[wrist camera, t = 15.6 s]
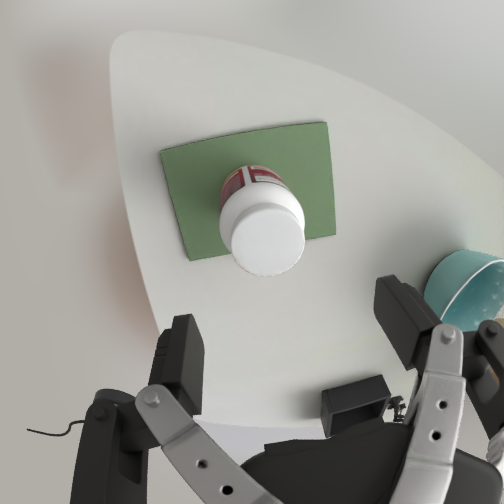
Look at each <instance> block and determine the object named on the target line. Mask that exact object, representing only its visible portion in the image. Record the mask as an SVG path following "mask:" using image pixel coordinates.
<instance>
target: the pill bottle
mask: <svg viewBox="0 0 504 504" xmlns="http://www.w3.org/2000/svg"><path fill="white" fill-rule="evenodd" d="M304 227H305V220H304V213H303V210H302V208H301V205H300V204H299V202H298V201H297V199H296V198H295V196H294V195H293V194H292V192H291V191H290V190H289V188H288V187H287V186H286V185H285V183H284V182H283V181H282V179H281V178H280V177H279V176H278V175H277V174H276V173H275V172H274V171H272V170H271V169H269V168H267V167H265V166H261V165H246V166H243V167H240V168H238V169H237V170H235V171H234V172H232V173H231V174H230V175H229V176H228V178H227V179H226V180H225V182H224V184H223V187H222V190H221V200H220V220H219V228H220V234H221V238H222V240H223V242H224V244H225V246H226V248H227V249H228V250H229V251H230V252H231V253H232V255H233V257H234V259H235V261H236V262H237V264H238V265H239V266H240V267H241V268H242V269H244V270H245V271H247V272H249V273H251V274H254V275H257V276H274V275H278V274H281V273H283V272H285V271H287V270H288V269H290V268H291V267H292V266H293V265H295V263H296V262H297V261H298V260H299V258H300V257H301V255H302V252H303V249H304V245H305V236H304Z"/></svg>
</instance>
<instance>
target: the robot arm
mask: <svg viewBox="0 0 504 504" xmlns="http://www.w3.org/2000/svg"><path fill="white" fill-rule="evenodd" d="M374 313H375V317H376V319H377V320H378V322H379V324H380V325H381V327H382V329H383V330H384V332H385V334H386V335H387V337H388V339H389V341H390V342H391V344H392V346H393V347H394V349H395V351H396V353H397V354H398V356H399V358H400V360H401V362H402V363H403V365H404V367H405V369H406V371H408V370H411V369H413V368H416V369H417V371H418V372H417V375H416V379H415V383H414V387H413V391H412V395H411V398H410V402H409V406H408V409H407V412H406V415H405V417H404V419H403V422H402V423H395V422H386V423H384V420H383V418H382V416H380V417H377V418H374V419H371V420H368V421H365V422H362V423H359V424H355V425H353V426H352V427H350V428H348V429H346V430H344V431H342V432H340V433H339V434H337V435H335V436H333V437H331V438H329V439H324V440H297V439H296V440H295V439H294V440H289V441H283V442H277V443H270V444H264V449H265V451H264V452H262V453H259V454H257V455H255V456H253V457H251V458H250V459H248V460H247V461H246V462H244V463H243V464H242V465H241V466H239V465H238V464H237V463H235V462H234V461H233V460H232V459H231V458H230V457H229V456H228V455H227V454H226V453H225V452H224V451H223V450H222V449H221V448H220V447H219V446H218V445H217V444H216V443H215V441H214V440H213V439H212V438H211V437H210V436H209V435H208V434H207V433H206V432H205V431H204V430H203V429H202V428H201V427H200V426H199V425H198V424H197V423H195V421H194V420H193V415H201V410H202V387H203V368H204V344H203V340H202V337H201V334H200V332H199V329H198V327H197V324H196V322H195V319H194V316H193V315H192V314H186V315H179V316H174V319H173V323H172V328H171V329H165V330H164V331H163V333H162V334H161V335H160V337H159V339H158V343H157V347H156V348H157V349H156V351H155V357H154V360H153V364H152V369H151V373H150V378H149V383H148V386H147V387H145V388H143V389H142V390H141V391H140V392H139V393H138V394H137V396H136V399H135V400H133V401H130V402H127V403H124V404H118V403H115V402H111V401H110V400H107V399H101V400H98V401H96V402H94V403H93V404H92V405H91V406H90V407H89V408H88V410H87V413H86V417H85V420H79V421H74V422H71V423H70V424H69V428H68V430H67V431H66V432H65V433H63V434H47V433H44V432H39V431H35V430H31V429H27V430H28V431H32V432H36V433H40V434H45V435H49V436H64V435H66V434H68V433H69V432H70V430H71V426H72V425H73V424H77V423H84V425H83V429H82V434H81V439H80V443H79V448H78V454H77V459H76V464H75V471H74V477H73V483H72V491H71V499H70V504H147V470H148V451H149V449H151V448H154V447H158V446H161V449H162V451H163V453H164V454H165V455H166V457H167V458H168V459H169V461H170V462H171V463H172V465H173V466H174V467H175V469H176V470H177V471H178V472H179V474H180V475H181V476H182V477H183V479H184V480H185V481H186V482H187V483H188V485H189V486H190V487H191V488H192V489H193V491H194V492H195V493H196V494H197V495H198V496H199V497H200V499H201V500H202V501H203V502H204V503H205V504H502V497H503V490H504V328H503V326H502V325H501V324H500V323H498V322H497V321H494V320H484V321H482V322H481V323H480V325H479V327H478V329H477V330H476V331H466V332H461V330H460V329H459V328H458V327H456V326H455V325H452V324H448V323H443V322H442V321H441V320H440V318H439V317H438V316H437V315H436V313H435V312H434V311H433V310H432V309H431V307H430V306H429V305H428V304H427V303H426V301H425V300H424V299H423V298H422V297H421V295H420V294H419V293H418V292H417V291H416V289H415V288H413V287H412V286H410V285H408V284H406V283H403V284H402V283H401V282H400V281H399V280H398V279H397V277H396V276H395V275H388V276H384V277H380V278H377V280H376V287H375V297H374ZM489 366H491V368H492V369H493V371H494V372H495V374H496V376H497V377H498V379H499V385H498V383H497V382H496V380H495V378H494V377H493V375H492V373H491V372H490V370H489V369H488V368H489ZM465 390H466V392H467V394H468V396H469V398H470V400H471V402H472V404H473V406H474V408H475V410H476V412H477V414H478V416H479V418H480V420H481V422H482V425H483V427H484V429H485V431H486V433H487V436H488V438H489V440H490V442H489V445H488V453H487V454H486V458H487V461H489V462H487V461H485V460H482V459H480V458H478V457H475V456H473V455H471V454H468V453H466V452H464V451H462V450H459V449H457V448H456V444H457V440H458V435H459V430H460V424H461V419H462V412H463V405H464V397H465Z"/></svg>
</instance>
